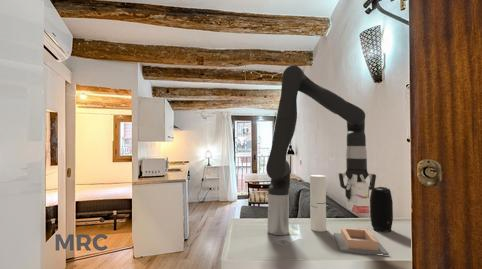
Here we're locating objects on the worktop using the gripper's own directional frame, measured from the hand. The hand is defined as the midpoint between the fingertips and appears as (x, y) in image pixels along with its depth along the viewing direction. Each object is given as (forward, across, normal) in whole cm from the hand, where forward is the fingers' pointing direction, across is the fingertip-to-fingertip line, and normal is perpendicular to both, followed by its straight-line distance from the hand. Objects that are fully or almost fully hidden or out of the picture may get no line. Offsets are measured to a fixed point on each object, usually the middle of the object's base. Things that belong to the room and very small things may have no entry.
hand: (357, 199), depth 99 cm
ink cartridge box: (+5, 0, 0) cm, 5 cm away
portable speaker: (+18, +15, +22) cm, 32 cm away
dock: (+18, 0, 0) cm, 18 cm away
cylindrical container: (+18, -14, +16) cm, 28 cm away
